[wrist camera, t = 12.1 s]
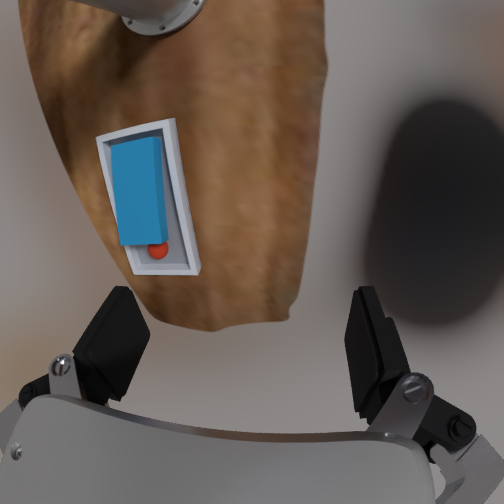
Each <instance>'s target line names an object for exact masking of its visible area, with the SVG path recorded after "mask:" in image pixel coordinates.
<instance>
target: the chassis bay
mask: <svg viewBox="0 0 504 504" xmlns="http://www.w3.org/2000/svg"><path fill="white" fill-rule="evenodd" d="M147 137H156V138H160V139H161V159H162V174H163V187H164V199H165V209H166V219H167V228H168V236H169V239H168V240H167V241H166V242H167V244H168V247H169V250H168V253H167V255H166V256H165V257H164V258H162V259H154V258H152V257H151V256H150V255H149V253H148V249H147V248H148V244H143V245H124V248H125V251H126V254H127V257H128V259H129V262H130V265H131V268H132V271H133V273H134V275H198V274H199V271H200V269H201V267H202V266H201V262H200V257H199V252H198V248H197V243H196V238H195V233H194V228H193V223H192V218H191V212H190V207H189V202H188V196H187V191H186V185H185V179H184V173H183V167H182V161H181V155H180V148H179V142H178V135H177V128H176V121H175V118H170V119H165V120H160V121H155V122H151V123H146V124H142V125H137V126H133V127H129V128H125V129H121V130H118V131H114V132H110V133H107V134H104V135H101V136H98V137H96V141H97V146H98V151H99V156H100V161H101V165H102V170H103V174H104V178H105V182H106V186H107V190H108V194H109V198H110V202H111V205H112V209H113V212H114V216H115V219H116V222H117V217H116V208H115V199H114V189H113V177H112V161H111V146H113V145H117V144H121V143H125V142H129V141H134V140H138V139H143V138H147ZM117 226H118V225H117Z"/></svg>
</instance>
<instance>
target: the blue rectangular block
mask: <svg viewBox="0 0 504 504" xmlns="http://www.w3.org/2000/svg"><path fill="white" fill-rule="evenodd" d="M111 161H112V177H113V189H114V199H115V208H116V217H117V225H118V232H119V238H120V245H143V244H148V248H147V249H148V253H149V255H150V256H151V257H152V258H154V259H162V258H164V257H165V256H166V255H167V253H168V250H169V247H168V244H167V242H166V241H167V240H168V239H169V236H168V228H167V219H166V209H165V199H164V187H163V174H162V159H161V139H160V138H156V137H147V138H143V139H138V140H134V141H129V142H125V143H121V144H117V145H113V146H111Z"/></svg>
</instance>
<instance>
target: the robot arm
mask: <svg viewBox="0 0 504 504" xmlns="http://www.w3.org/2000/svg"><path fill="white" fill-rule="evenodd" d="M70 1H75V2H78V3H82V4H86V5H89V6H93V7H96V8H99V9H103V10H106V11H109V12H112V13H115V14H118V15H121V17H122V20H123V22H124V24H125V25H126V26H127V27H128V28H129V29H130V30H132V31H134V32H136V33H138V34H142V35H148V36H156V35H162V34H167V33H170V32H172V31H175V30H177V29H179V28H180V27H182V26H184V25H185V24H187V23H188V22H189V21H191V20H192V19H193V18H194V17H195V16H196V15H197V14H198V13H199V11H200V10H201V9H202V7H203V5H204V3H205V1H206V0H70ZM198 3H199V4H198ZM196 4H198V5H196ZM132 22H133V23H132ZM164 28H165V29H164ZM163 29H164V30H163ZM149 338H150V331H149V329H148V327H147V324H146V322H145V320H144V318H143V316H142V313H141V311H140V309H139V306H138V304H137V302H136V299H135V297H134V295H133V292H132V291H131V290H130V289H129V288H128V287H126V286H115V287H114V288H113V290H112V291H111V293H110V294H109V295H108V297H107V298H106V300H105V301H104V303H103V304H102V306H101V307H100V309H99V310H98V312H97V313H96V315H95V316H94V318H93V319H92V321H91V322H90V324H89V325H88V327H87V329H86V330H85V332H84V333H83V335H82V336H81V338H80V340H79V341H78V343H77V344H76V346H75V348H74V350H73V351H72V352H73V353H74V356H73V357H72V356H71V355H68V354H61V355H59V356H57V357H56V358H55V359H54V360H53V361H52V362H51V364H50V366H49V373H48V374H46V375H44V376H42V377H40V378H38V379H36V380H34V381H32V382H30V383H28V384H26V385H25V386H24V387H23V388H22V389H21V391H20V393H19V400H17V399H15V400H14V401H13V402H12V403H11V404H10V405H8V406H7V407H6V408H5V409H4V410H3V411H2V412H1V413H0V448H1V451H2V453H3V458H2V461H1V464H0V504H483V503H484V502H485V501H486V500H487V499H488V497H489V496H490V495H491V494H492V492H493V491H494V490H495V489H496V487H497V486H498V485H499V483H500V482H501V481H502V479H503V477H504V460H503V459H502V458H501V456H500V455H499V454H498V453H497V452H496V451H495V449H494V448H493V447H492V446H491V445H490V444H489V442H488V441H487V440H486V439H485V438H484V437H483V436H482V434H481V435H480V436H478V435H477V433H476V423H475V421H474V419H473V418H472V417H471V416H470V415H469V414H467V413H465V412H464V411H462V410H460V409H459V408H457V407H455V406H453V405H452V404H450V403H448V402H446V401H445V400H443V399H441V398H440V397H438V396H436V395H434V386H433V384H432V382H431V380H430V379H429V378H428V377H427V376H425V375H424V374H421V373H417V372H415V373H414V372H412V373H411V371H410V368H409V365H408V361H407V358H406V355H405V352H404V349H403V346H402V343H401V340H400V337H399V334H398V331H397V329H396V326H395V323H394V321H393V319H392V318H391V317H387V318H385V315H384V313H383V310H382V307H381V304H380V301H379V299H378V296H377V293H376V291H375V288H374V286H360V287H359V288H358V290H355V291H354V293H353V298H352V304H351V309H350V314H349V318H348V323H347V328H346V332H345V338H344V339H345V340H344V341H345V348H346V354H347V360H348V366H349V373H350V380H351V387H352V394H353V402H354V409H355V412H359V415H360V419H361V418H367V423H368V424H369V425H370V426H369V427H368V429H367V430H366V431H352V432H330V433H303V434H302V433H301V434H280V433H277V434H276V433H251V432H237V431H225V430H216V429H208V428H201V427H194V426H187V425H181V424H176V423H170V422H165V421H160V420H155V419H151V418H146V417H142V416H137V415H133V414H130V413H126V412H122V411H119V410H115V409H112V408H110V407H109V404H108V399H109V398H110V399H112V400H116V401H119V402H120V401H121V398H122V396H124V395H125V394H126V392H127V390H128V387H129V385H130V382H131V380H132V378H133V375H134V373H135V370H136V368H137V366H138V364H139V361H140V359H141V356H142V354H143V352H144V350H145V348H146V345H147V343H148V341H149ZM429 462H430V463H433V464H437V465H438V466H439V467H440V469H441V471H440V472H441V473H442V475H443V476H444V478H445V480H446V486H445V489H444V491H443V493H442V494H441V495H440V496H439V497H438V498H437V499H436V500H435V491H434V483H433V478H432V473H431V469H430V465H429Z"/></svg>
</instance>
